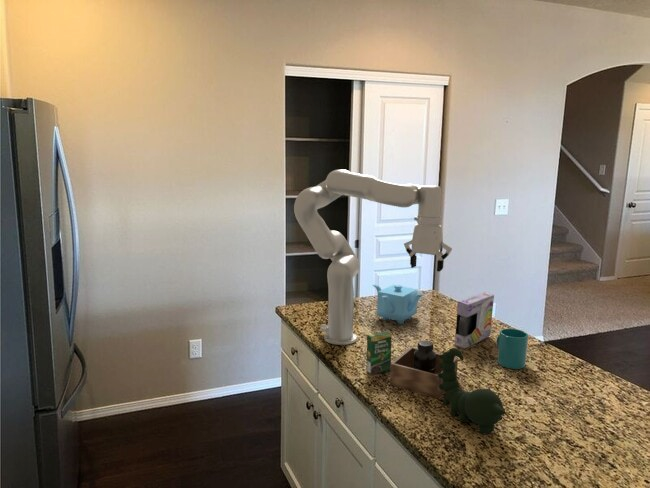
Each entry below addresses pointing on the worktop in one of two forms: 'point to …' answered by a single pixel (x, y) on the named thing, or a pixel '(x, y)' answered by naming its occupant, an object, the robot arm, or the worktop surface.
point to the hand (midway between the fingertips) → (426, 268)
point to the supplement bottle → (425, 357)
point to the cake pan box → (473, 319)
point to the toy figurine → (468, 397)
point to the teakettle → (397, 302)
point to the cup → (512, 348)
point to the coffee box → (378, 352)
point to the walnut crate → (417, 375)
